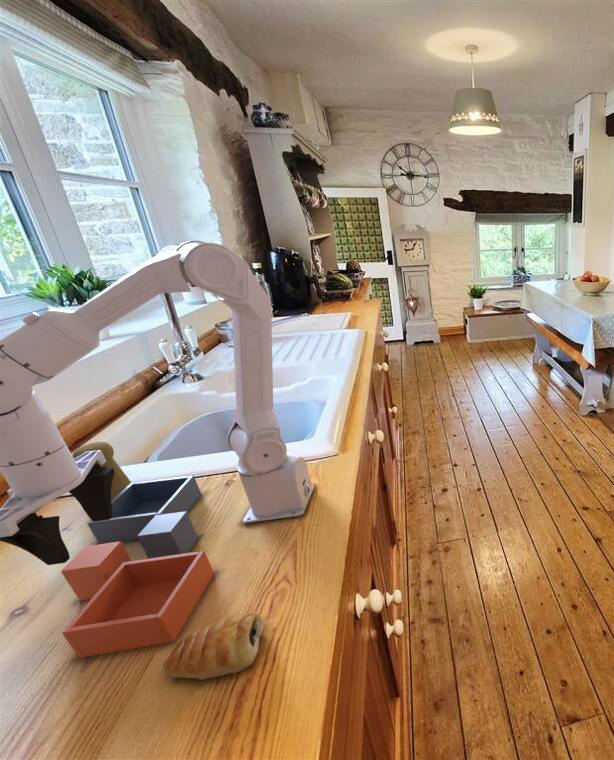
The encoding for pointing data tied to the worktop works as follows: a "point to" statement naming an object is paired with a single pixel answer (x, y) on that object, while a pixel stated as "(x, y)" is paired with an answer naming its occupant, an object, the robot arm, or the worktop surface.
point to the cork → (119, 478)
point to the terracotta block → (94, 568)
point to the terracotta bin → (140, 604)
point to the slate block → (168, 535)
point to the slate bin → (145, 507)
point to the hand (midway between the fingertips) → (82, 539)
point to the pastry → (217, 648)
